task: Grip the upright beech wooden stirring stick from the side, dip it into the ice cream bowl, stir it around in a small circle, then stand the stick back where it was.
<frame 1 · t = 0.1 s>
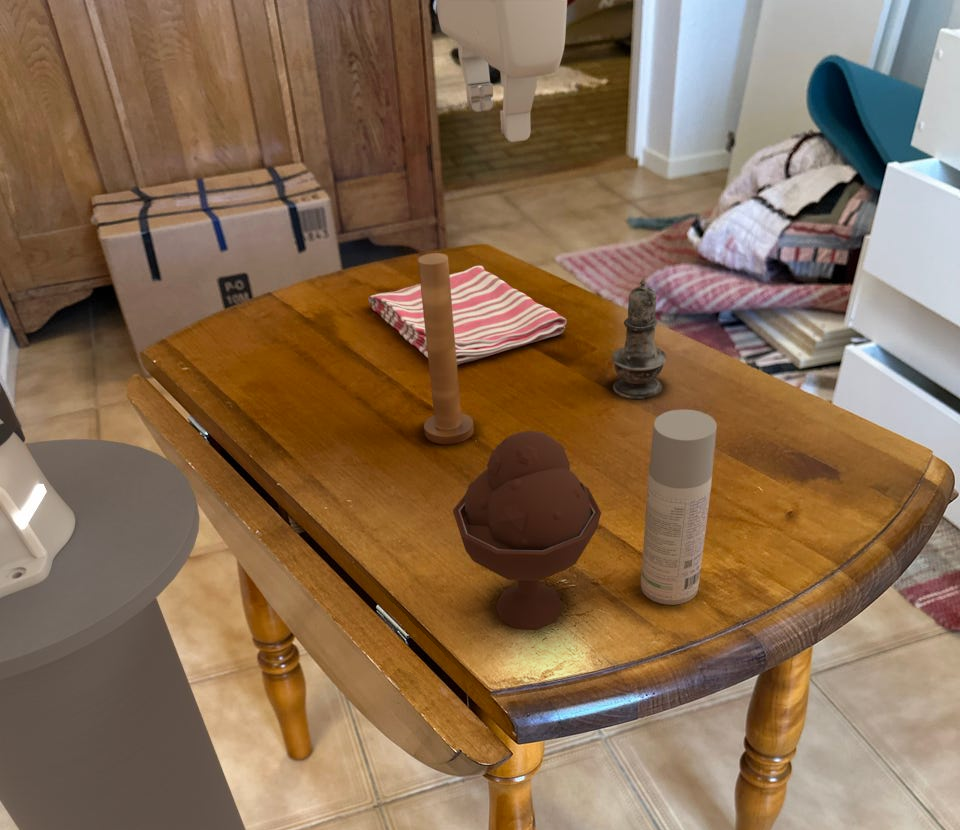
hand: (497, 123, 69), 31 cm above the table, tool pointing down, fingers open, 8 cm apart
salt shaker: (637, 389, 102), on the table
dish towel: (464, 323, 118), on the table
stirring stick: (449, 432, 97), on the table
container: (669, 588, 77), on the table
ice cream bowl: (529, 609, 76), on the table
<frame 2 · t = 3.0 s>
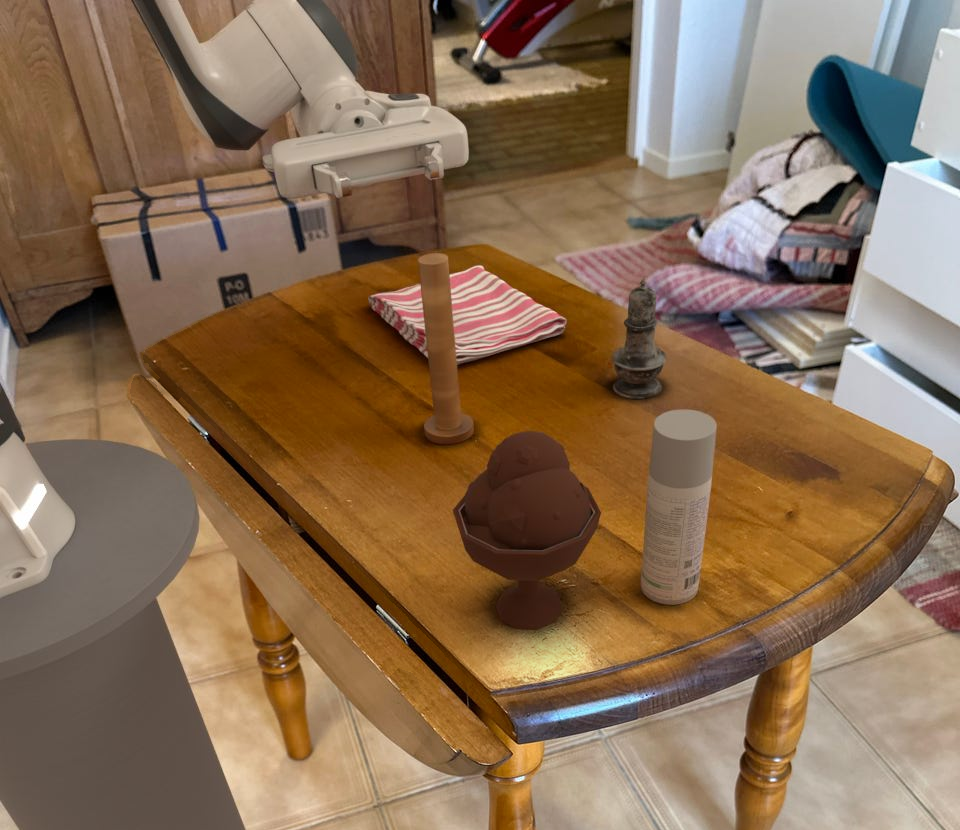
hand: (390, 179, 90), 22 cm above the table, tool horizontal, fingers open, 8 cm apart
nothing on the table moved.
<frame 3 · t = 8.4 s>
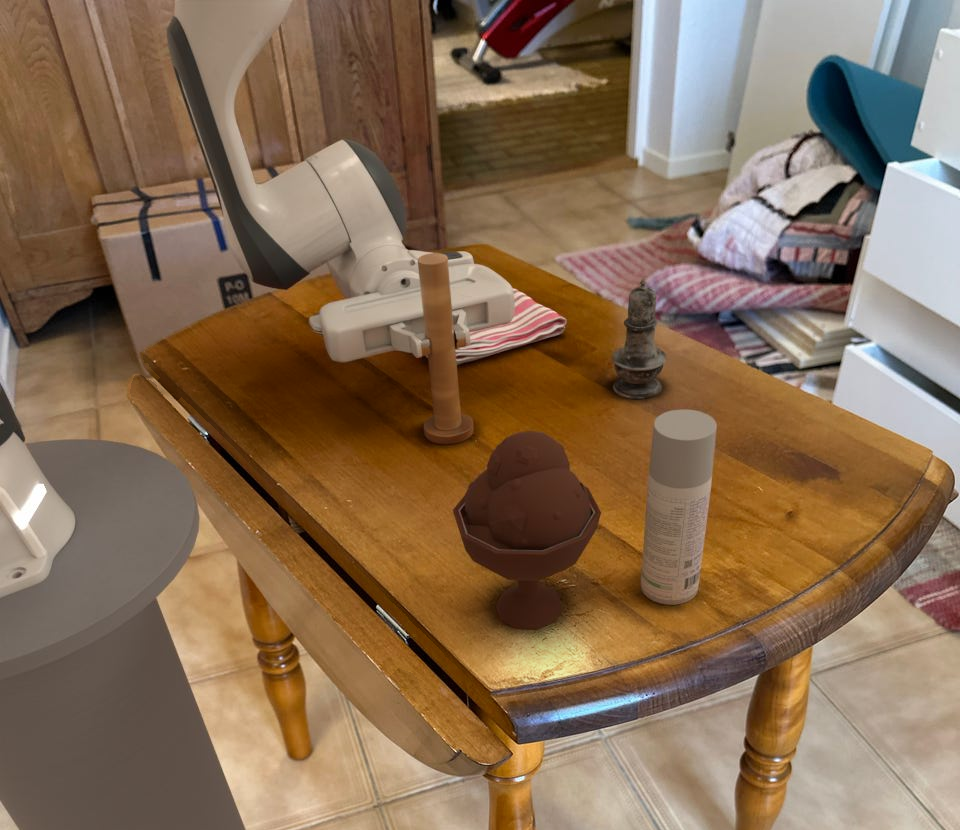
hand: (444, 344, 90), 10 cm above the table, tool horizontal, fingers closed on stirring stick, 3 cm apart
stirring stick: (449, 432, 97), on the table, touching gripper
everything else where it was.
when the fingers open (8 cm above the table, at t = 28.9 s): stirring stick drops 3 cm, on the table.
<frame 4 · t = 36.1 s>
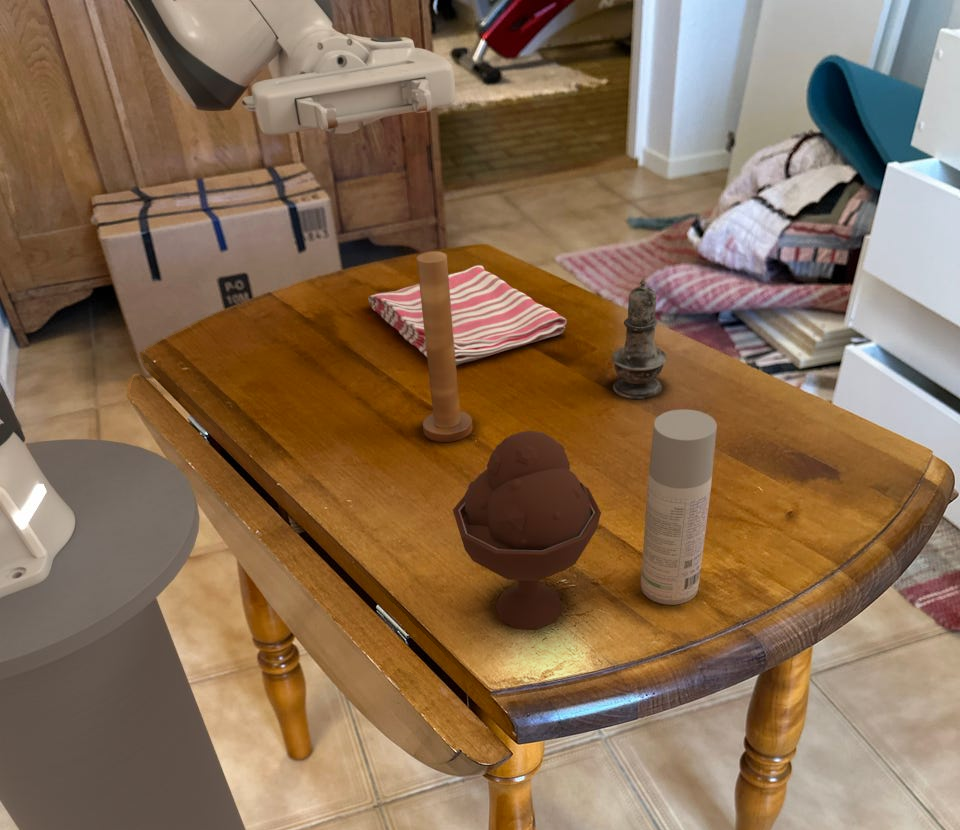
hand: (377, 110, 87), 28 cm above the table, tool horizontal, fingers open, 8 cm apart
stirring stick: (448, 429, 98), on the table
everything else where it was.
at the end: stirring stick inside the target area (0.4 cm from its centre), on the table; stirring stick tilted 0°; ice cream bowl moved 0.2 cm from its start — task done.
